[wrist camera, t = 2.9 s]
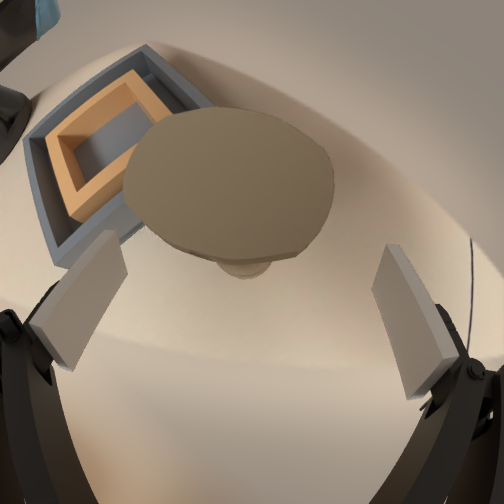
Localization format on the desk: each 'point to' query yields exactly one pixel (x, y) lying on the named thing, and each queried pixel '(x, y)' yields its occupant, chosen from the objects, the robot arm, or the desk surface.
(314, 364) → the desk surface
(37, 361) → the robot arm
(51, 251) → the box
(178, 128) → the handle
